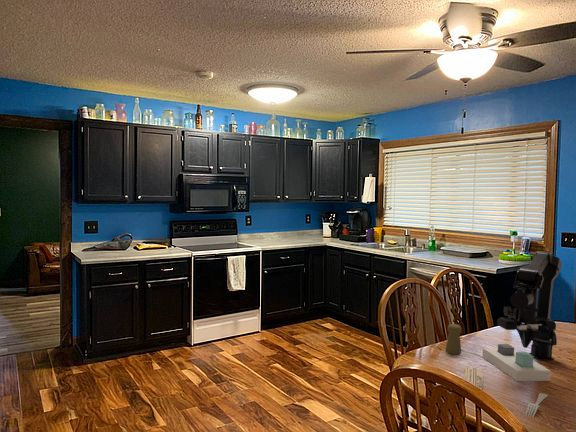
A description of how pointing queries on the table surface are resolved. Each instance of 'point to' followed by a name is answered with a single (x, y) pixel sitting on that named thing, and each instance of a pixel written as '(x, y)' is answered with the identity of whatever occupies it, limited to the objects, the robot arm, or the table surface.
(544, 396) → the fork
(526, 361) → the teal green cube
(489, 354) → the white socket board
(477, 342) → the table surface
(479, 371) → the newspaper
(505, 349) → the dark grey cube
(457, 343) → the olive brown upright piece
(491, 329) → the table surface
